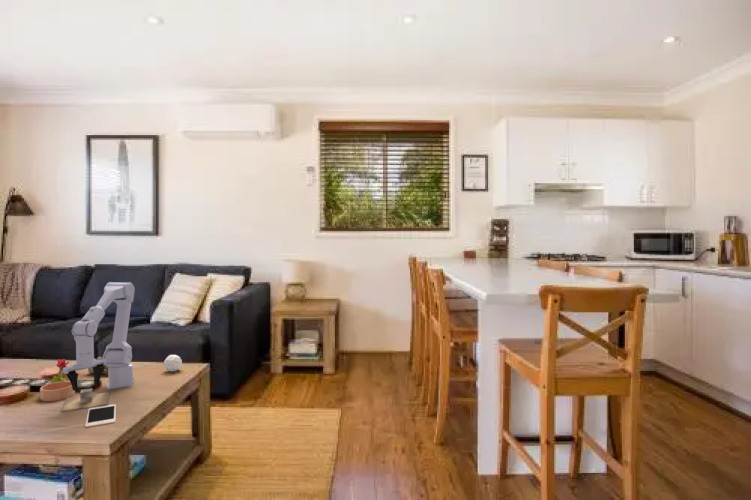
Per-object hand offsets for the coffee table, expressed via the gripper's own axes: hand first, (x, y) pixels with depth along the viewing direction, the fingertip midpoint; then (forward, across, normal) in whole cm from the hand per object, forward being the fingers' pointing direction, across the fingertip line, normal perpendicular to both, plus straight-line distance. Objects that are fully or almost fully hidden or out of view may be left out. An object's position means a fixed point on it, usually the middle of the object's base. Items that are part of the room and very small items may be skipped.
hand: (86, 387), depth 178 cm
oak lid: (+6, 0, 0) cm, 6 cm away
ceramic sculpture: (+6, -22, -33) cm, 40 cm away
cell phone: (+7, +3, +17) cm, 18 cm away
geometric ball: (+6, -42, -10) cm, 44 cm away
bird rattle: (+6, -5, -33) cm, 34 cm away
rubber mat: (+6, 0, 0) cm, 6 cm away
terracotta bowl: (+6, +3, -17) cm, 18 cm away
